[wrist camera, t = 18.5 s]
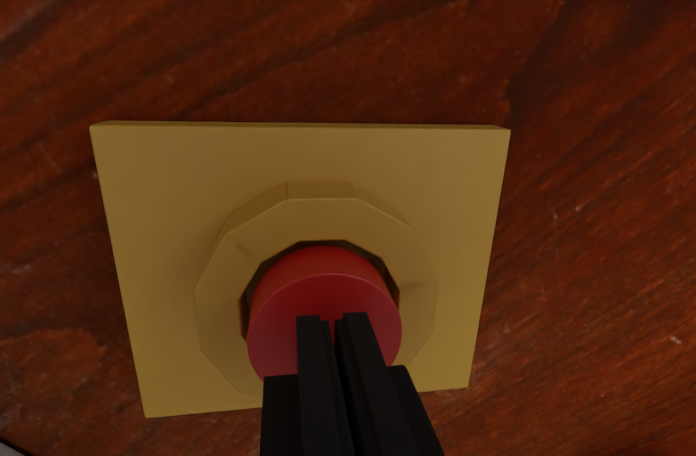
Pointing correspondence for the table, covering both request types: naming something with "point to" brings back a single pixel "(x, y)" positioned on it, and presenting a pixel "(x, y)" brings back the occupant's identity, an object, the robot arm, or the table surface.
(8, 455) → the white product box
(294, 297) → the button
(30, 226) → the table surface
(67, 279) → the table surface
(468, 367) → the block
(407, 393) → the robot arm
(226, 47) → the table surface
